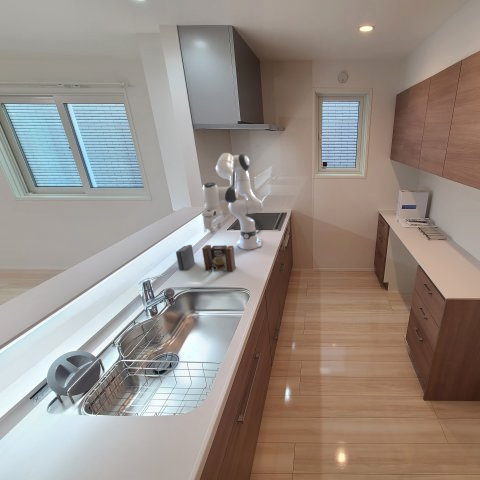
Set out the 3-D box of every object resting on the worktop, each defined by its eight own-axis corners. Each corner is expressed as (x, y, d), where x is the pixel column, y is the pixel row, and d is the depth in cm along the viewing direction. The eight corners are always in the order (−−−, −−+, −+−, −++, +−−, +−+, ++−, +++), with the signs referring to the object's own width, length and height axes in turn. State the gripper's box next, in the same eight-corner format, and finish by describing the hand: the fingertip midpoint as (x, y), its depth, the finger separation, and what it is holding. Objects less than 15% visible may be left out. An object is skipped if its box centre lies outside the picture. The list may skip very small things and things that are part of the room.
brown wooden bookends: (209, 266, 169) (206, 244, 163) (235, 267, 169) (233, 245, 163) (205, 270, 164) (202, 248, 158) (232, 271, 163) (230, 249, 158)
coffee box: (213, 271, 162) (209, 249, 157) (215, 267, 168) (212, 245, 163) (227, 271, 164) (224, 248, 158) (229, 266, 170) (226, 245, 164)
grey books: (187, 263, 173) (183, 244, 168) (194, 263, 173) (191, 244, 168) (179, 269, 164) (175, 250, 159) (187, 270, 164) (183, 250, 159)
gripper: (215, 205, 161) (217, 225, 166) (200, 214, 142) (203, 236, 147) (224, 206, 161) (227, 226, 166) (211, 214, 142) (214, 237, 147)
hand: (216, 231), depth 157 cm, fingers open, 8 cm apart
